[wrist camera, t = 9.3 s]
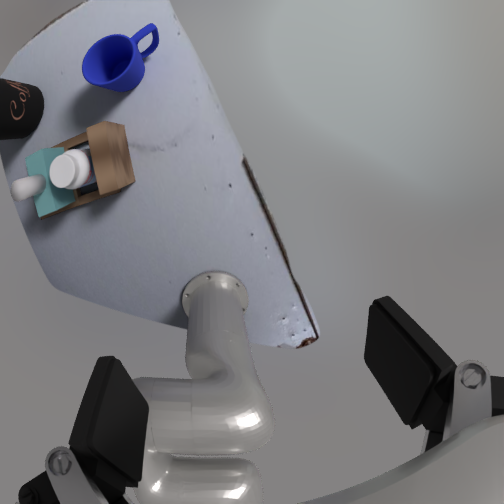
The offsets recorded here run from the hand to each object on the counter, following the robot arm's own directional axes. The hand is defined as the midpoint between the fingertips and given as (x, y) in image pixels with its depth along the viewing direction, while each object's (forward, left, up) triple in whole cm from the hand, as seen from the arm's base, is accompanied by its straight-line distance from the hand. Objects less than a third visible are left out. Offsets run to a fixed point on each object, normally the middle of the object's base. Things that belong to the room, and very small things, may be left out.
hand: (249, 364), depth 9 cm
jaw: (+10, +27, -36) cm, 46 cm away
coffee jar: (+26, +34, -38) cm, 57 cm away
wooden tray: (+10, +24, -38) cm, 46 cm away
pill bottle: (+10, +21, -38) cm, 45 cm away
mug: (+25, +10, -38) cm, 47 cm away
